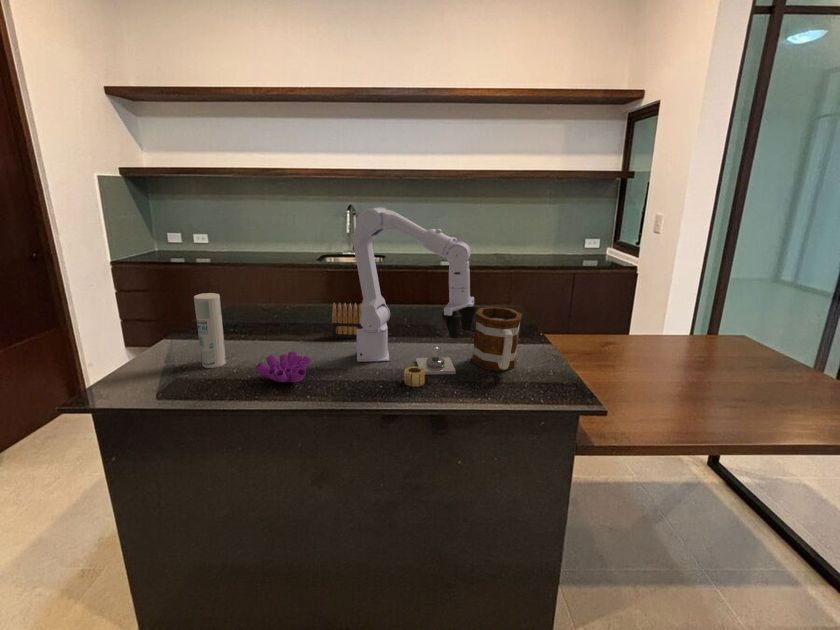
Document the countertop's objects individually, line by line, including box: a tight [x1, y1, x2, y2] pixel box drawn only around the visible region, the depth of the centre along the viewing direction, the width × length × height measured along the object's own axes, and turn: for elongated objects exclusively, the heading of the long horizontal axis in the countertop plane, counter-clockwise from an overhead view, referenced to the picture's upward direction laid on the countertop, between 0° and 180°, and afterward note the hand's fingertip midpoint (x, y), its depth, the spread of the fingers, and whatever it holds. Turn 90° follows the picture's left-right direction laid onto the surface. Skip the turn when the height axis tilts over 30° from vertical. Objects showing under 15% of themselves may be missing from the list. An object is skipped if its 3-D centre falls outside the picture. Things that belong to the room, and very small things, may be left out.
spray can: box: [193, 292, 227, 369], centre depth 131 cm, size 6×6×20 cm
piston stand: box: [415, 346, 457, 376], centre depth 134 cm, size 10×10×6 cm
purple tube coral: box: [254, 351, 312, 383], centre depth 124 cm, size 11×15×10 cm
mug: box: [471, 306, 523, 372], centre depth 135 cm, size 20×14×15 cm
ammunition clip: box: [331, 302, 363, 339], centre depth 157 cm, size 11×2×12 cm, turn 89°
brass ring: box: [404, 365, 426, 388], centre depth 124 cm, size 5×5×4 cm
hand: (460, 333), depth 133 cm, fingers open, 7 cm apart
